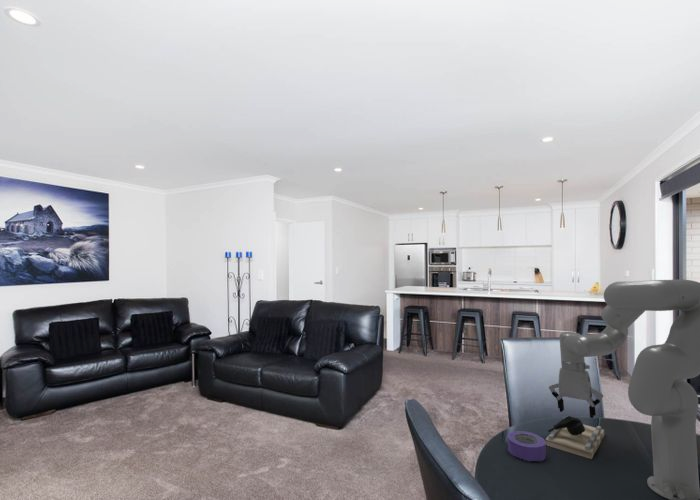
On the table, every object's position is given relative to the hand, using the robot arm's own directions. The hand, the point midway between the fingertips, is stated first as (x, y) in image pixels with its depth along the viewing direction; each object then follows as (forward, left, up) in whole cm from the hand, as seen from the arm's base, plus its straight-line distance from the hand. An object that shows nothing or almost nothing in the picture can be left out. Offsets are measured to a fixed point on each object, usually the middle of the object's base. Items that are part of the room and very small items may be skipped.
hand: (576, 413), depth 132 cm
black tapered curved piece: (-4, +3, -7) cm, 9 cm away
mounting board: (0, +1, -10) cm, 10 cm away
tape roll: (-22, +11, -10) cm, 26 cm away
